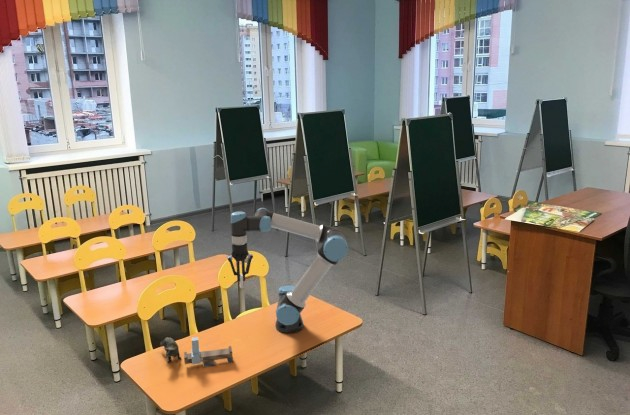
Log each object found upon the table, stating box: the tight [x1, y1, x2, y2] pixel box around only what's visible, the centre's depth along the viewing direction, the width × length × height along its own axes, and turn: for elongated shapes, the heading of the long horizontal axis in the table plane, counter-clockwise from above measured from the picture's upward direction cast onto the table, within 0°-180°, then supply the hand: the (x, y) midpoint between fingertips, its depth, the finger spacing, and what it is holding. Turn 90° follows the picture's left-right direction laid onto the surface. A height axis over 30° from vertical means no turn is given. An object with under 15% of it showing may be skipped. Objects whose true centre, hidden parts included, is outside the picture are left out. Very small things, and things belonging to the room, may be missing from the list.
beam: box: [183, 345, 234, 368], centre depth 237 cm, size 22×5×6 cm, turn 105°
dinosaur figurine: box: [159, 336, 182, 364], centre depth 241 cm, size 22×8×11 cm, turn 23°
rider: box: [190, 336, 202, 365], centre depth 234 cm, size 4×8×11 cm, turn 15°
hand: (241, 287), depth 253 cm, fingers closed
